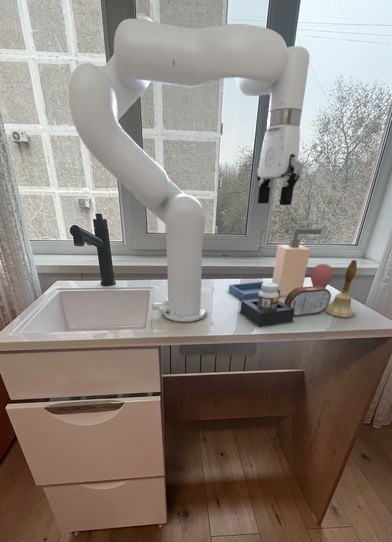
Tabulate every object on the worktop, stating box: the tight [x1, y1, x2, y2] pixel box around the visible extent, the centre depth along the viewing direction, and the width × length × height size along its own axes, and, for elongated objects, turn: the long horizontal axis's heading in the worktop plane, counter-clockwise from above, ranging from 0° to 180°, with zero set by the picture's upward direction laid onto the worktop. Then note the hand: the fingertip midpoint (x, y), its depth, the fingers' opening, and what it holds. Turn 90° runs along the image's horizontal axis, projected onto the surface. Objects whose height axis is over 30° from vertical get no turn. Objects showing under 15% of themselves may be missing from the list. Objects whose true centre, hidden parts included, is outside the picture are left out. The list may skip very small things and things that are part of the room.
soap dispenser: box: [271, 228, 323, 297], centre depth 102 cm, size 13×9×22 cm
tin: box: [283, 285, 332, 317], centre depth 86 cm, size 15×3×8 cm, turn 109°
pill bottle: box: [257, 282, 280, 310], centre depth 83 cm, size 6×6×10 cm
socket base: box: [239, 299, 295, 328], centre depth 84 cm, size 11×11×4 cm
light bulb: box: [310, 263, 334, 289], centre depth 98 cm, size 7×7×12 cm
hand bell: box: [324, 259, 358, 318], centre depth 86 cm, size 8×8×16 cm
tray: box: [228, 281, 281, 301], centre depth 103 cm, size 14×11×3 cm
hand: (273, 204), depth 76 cm, fingers open, 9 cm apart
